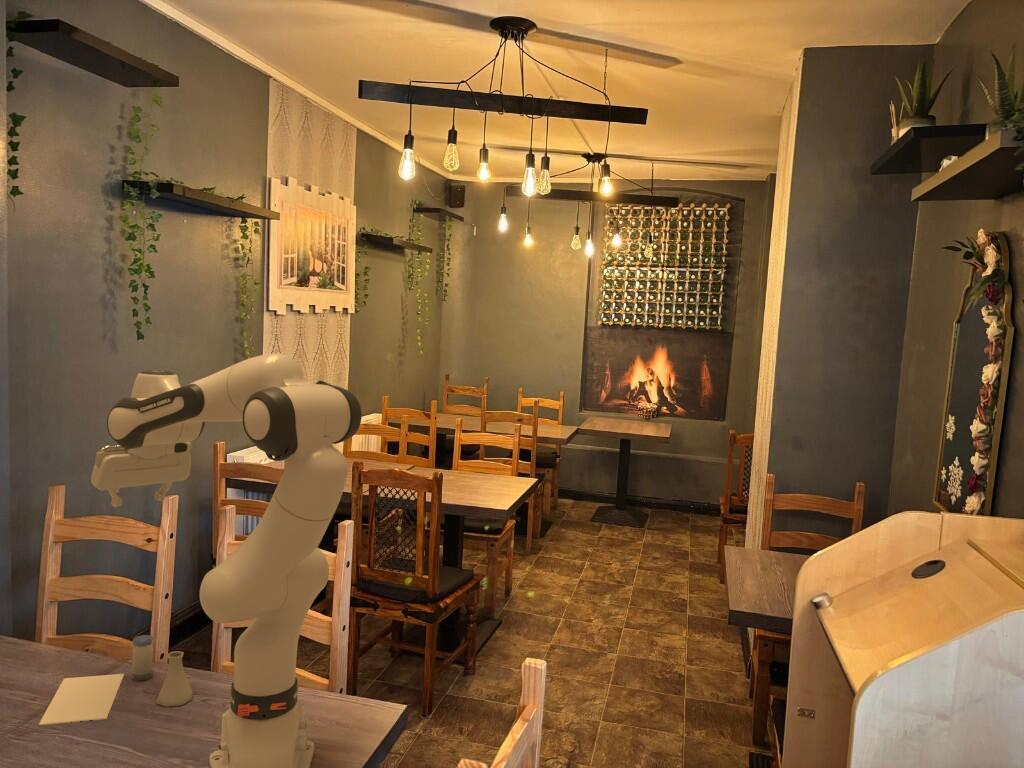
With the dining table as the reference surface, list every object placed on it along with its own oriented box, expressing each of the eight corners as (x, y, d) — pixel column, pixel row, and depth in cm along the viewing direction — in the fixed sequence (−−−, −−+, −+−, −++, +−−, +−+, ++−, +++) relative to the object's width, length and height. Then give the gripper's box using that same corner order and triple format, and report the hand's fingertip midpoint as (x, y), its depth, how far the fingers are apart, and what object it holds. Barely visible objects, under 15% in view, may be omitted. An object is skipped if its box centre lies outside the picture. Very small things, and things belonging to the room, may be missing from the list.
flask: (184, 708, 161) (184, 662, 160) (149, 706, 161) (150, 660, 160) (198, 692, 168) (199, 647, 168) (165, 690, 168) (166, 646, 168)
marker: (150, 680, 172) (151, 641, 172) (130, 682, 171) (131, 642, 170) (153, 672, 176) (153, 634, 175) (133, 674, 175) (134, 635, 174)
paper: (106, 719, 155) (106, 717, 155) (38, 725, 152) (38, 724, 152) (124, 674, 174) (124, 673, 174) (64, 679, 171) (64, 678, 171)
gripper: (104, 451, 155) (95, 515, 157) (198, 444, 171) (189, 502, 174) (90, 441, 158) (81, 503, 161) (183, 434, 175) (174, 491, 177)
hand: (138, 502), depth 167 cm, fingers open, 8 cm apart
